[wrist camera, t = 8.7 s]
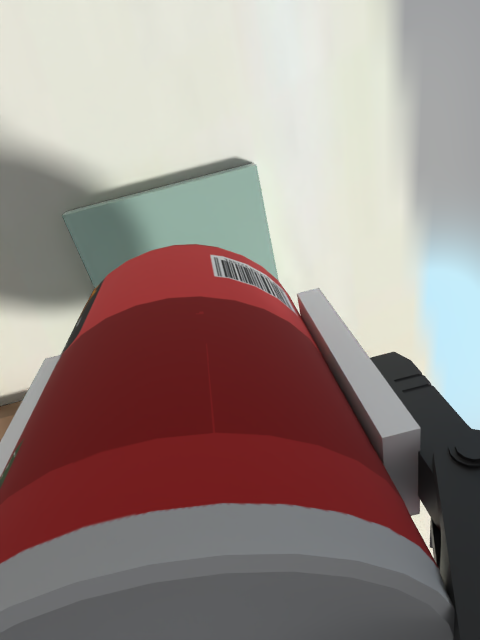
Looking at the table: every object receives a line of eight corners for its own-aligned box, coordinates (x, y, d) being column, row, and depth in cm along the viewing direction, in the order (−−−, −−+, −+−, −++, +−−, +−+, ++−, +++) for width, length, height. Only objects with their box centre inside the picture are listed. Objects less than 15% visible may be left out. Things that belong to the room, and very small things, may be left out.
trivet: (134, 363, 23) (132, 371, 22) (66, 211, 18) (62, 215, 18) (284, 324, 23) (288, 331, 22) (253, 162, 18) (256, 164, 18)
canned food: (49, 263, 13) (-289, 670, 4) (280, 213, 14) (516, 482, 4) (123, 426, 17) (46, 836, 8) (303, 385, 17) (450, 736, 8)
